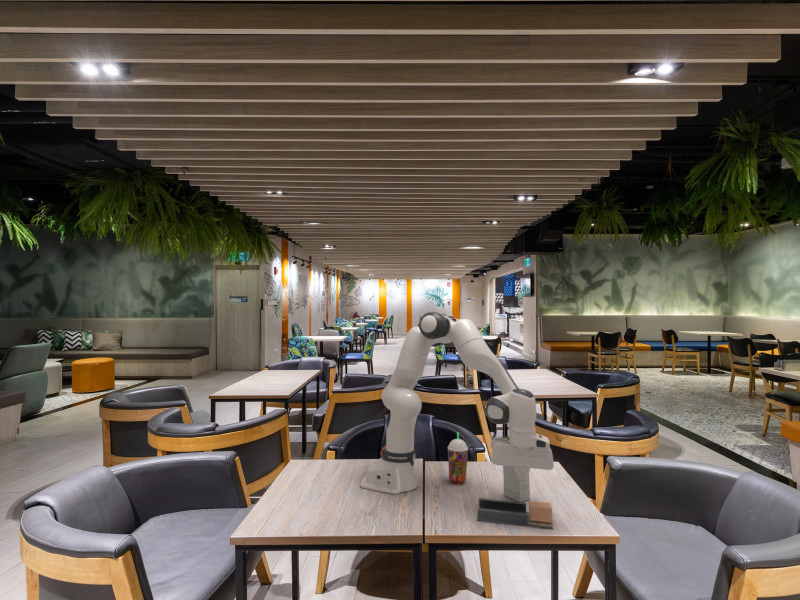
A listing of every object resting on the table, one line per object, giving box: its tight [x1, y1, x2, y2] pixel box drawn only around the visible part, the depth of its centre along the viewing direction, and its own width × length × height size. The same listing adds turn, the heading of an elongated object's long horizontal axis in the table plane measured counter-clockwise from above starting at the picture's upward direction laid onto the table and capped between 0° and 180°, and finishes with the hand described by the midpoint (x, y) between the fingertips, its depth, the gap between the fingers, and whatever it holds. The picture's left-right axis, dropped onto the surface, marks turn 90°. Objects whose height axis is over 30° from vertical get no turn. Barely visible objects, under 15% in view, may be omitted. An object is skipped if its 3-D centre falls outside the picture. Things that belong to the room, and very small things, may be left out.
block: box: [528, 499, 553, 524], centre depth 152 cm, size 7×5×4 cm
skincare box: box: [502, 465, 531, 502], centre depth 172 cm, size 8×6×15 cm
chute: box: [476, 497, 554, 530], centre depth 154 cm, size 24×10×4 cm, turn 77°
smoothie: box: [447, 431, 469, 485], centre depth 187 cm, size 8×8×20 cm
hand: (521, 479), depth 154 cm, fingers closed
